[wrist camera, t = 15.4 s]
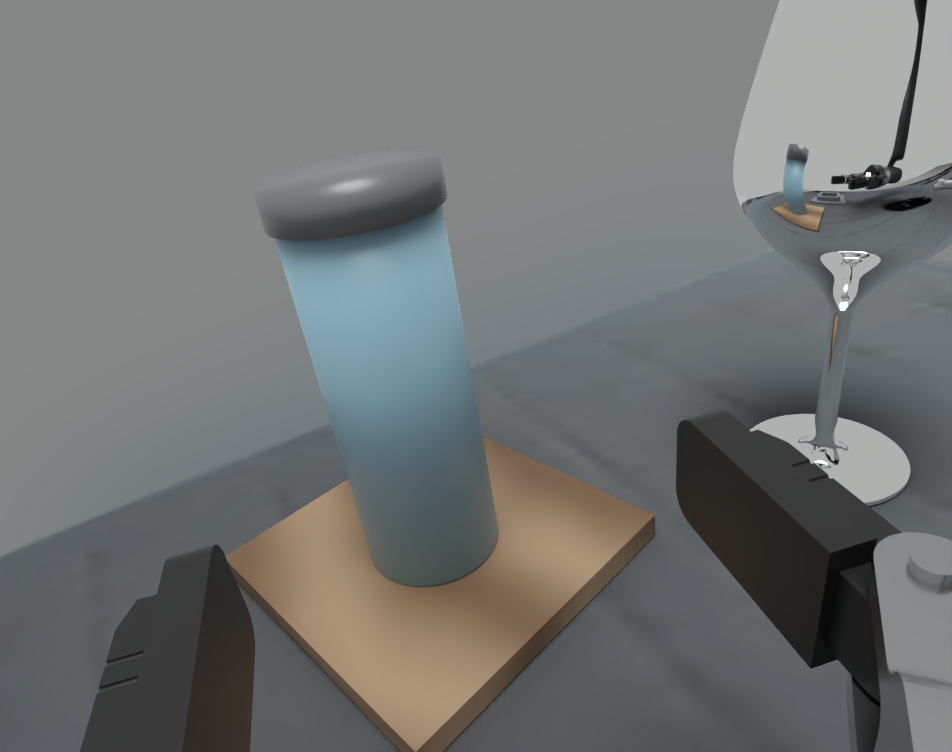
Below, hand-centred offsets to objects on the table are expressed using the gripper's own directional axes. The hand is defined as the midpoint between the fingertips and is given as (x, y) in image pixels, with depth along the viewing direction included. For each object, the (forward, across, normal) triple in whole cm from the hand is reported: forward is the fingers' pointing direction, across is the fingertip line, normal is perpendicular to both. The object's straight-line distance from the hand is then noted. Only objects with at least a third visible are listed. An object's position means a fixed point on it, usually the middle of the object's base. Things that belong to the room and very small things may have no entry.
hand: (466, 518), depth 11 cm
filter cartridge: (+11, 0, +10) cm, 15 cm away
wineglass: (+10, -17, +11) cm, 22 cm away
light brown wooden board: (+11, 0, +11) cm, 15 cm away
